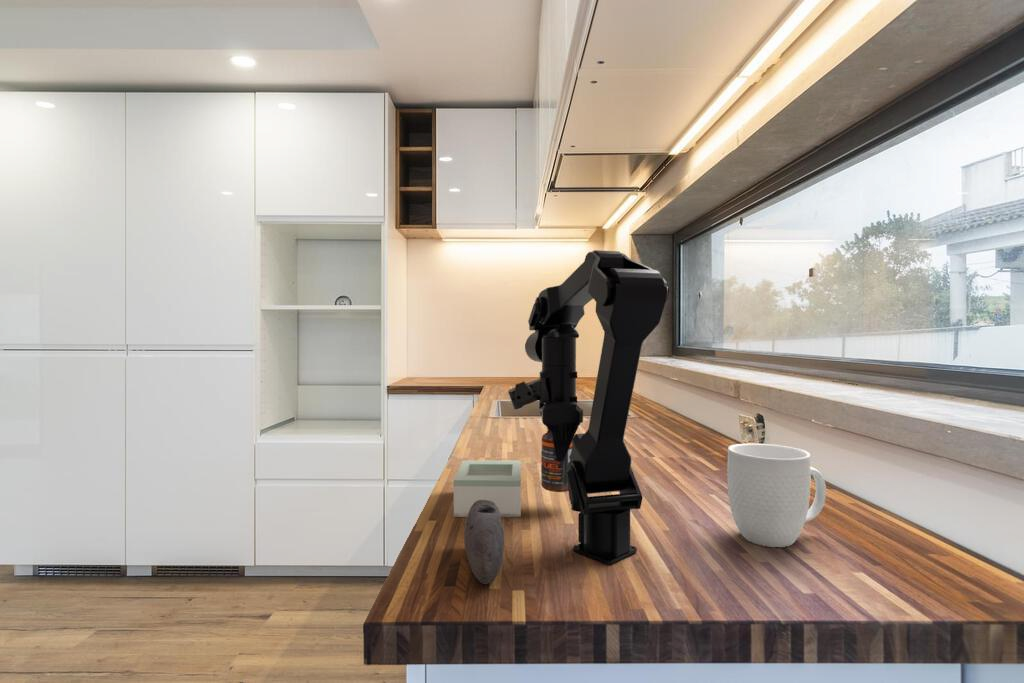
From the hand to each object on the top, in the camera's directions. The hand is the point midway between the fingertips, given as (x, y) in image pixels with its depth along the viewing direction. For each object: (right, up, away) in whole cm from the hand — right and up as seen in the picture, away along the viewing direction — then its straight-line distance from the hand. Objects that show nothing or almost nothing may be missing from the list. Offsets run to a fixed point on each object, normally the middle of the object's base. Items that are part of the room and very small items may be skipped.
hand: (558, 457), depth 92 cm
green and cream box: (-12, -9, +4) cm, 16 cm away
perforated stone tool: (-11, -10, -22) cm, 27 cm away
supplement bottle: (0, -6, 0) cm, 6 cm away
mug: (+31, -10, -12) cm, 34 cm away
